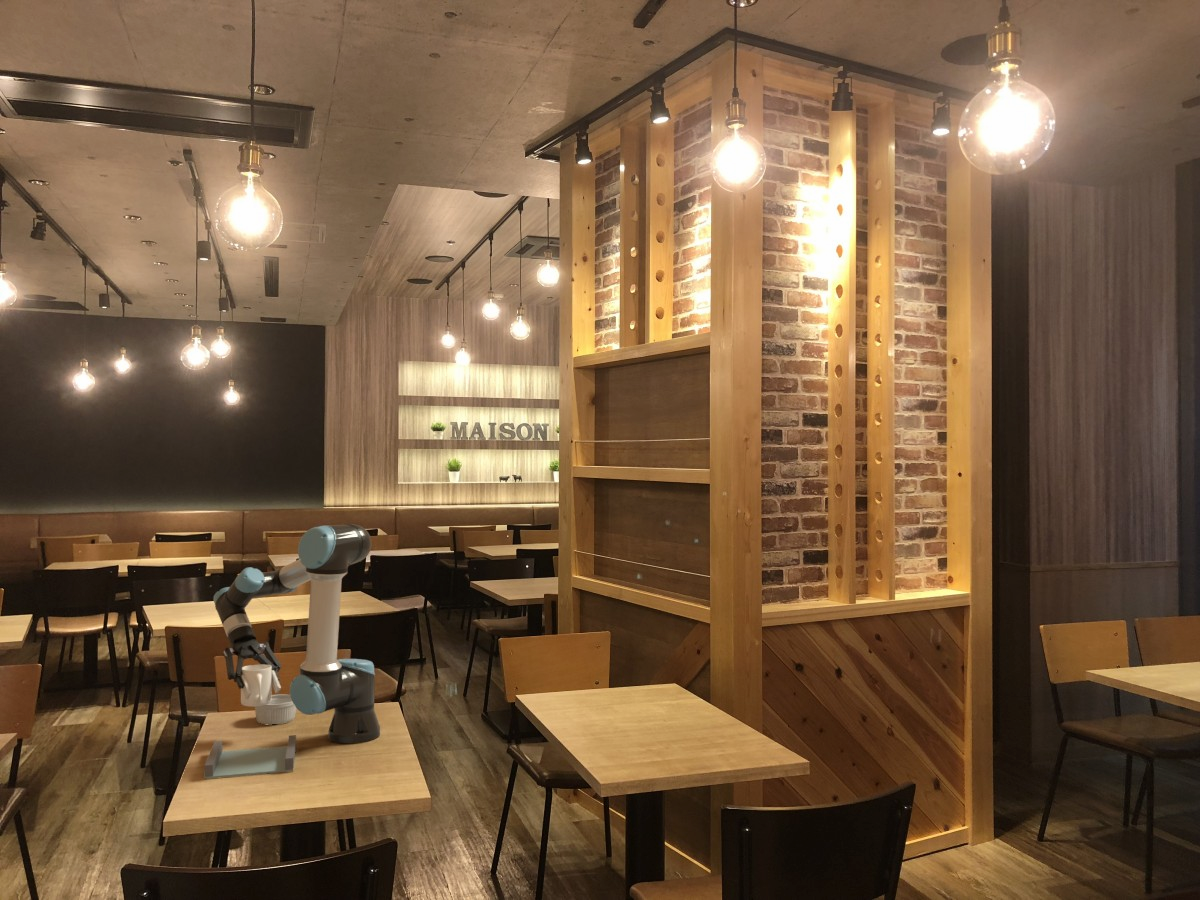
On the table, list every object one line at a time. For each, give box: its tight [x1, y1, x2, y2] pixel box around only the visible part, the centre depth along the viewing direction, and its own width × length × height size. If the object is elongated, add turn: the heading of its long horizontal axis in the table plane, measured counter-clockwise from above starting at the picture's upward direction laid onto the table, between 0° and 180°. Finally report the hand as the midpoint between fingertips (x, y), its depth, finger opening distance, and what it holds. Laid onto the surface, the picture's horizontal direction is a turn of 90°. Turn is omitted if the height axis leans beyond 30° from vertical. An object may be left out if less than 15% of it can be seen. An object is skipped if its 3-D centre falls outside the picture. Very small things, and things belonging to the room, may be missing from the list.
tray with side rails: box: [204, 734, 297, 780], centre depth 256 cm, size 22×22×4 cm
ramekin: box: [253, 693, 297, 726], centre depth 298 cm, size 13×13×7 cm
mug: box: [240, 663, 273, 707], centre depth 276 cm, size 9×12×11 cm
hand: (263, 693), depth 274 cm, fingers closed on mug, 8 cm apart
